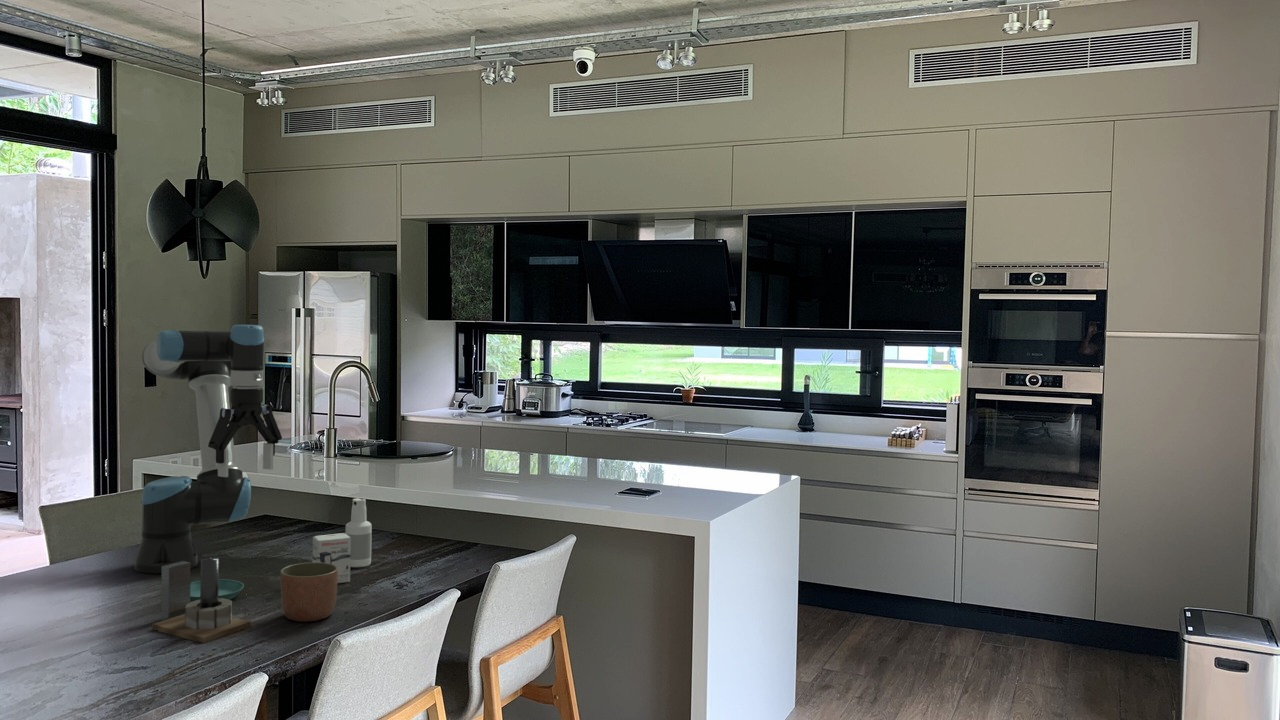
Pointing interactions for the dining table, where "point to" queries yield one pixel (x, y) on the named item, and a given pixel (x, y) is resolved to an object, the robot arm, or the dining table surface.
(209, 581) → the cylinder
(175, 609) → the grey rectangular block
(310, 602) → the planter
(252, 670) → the dining table surface
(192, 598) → the saucer
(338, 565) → the ink box
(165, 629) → the socket board
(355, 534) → the spray bottle
